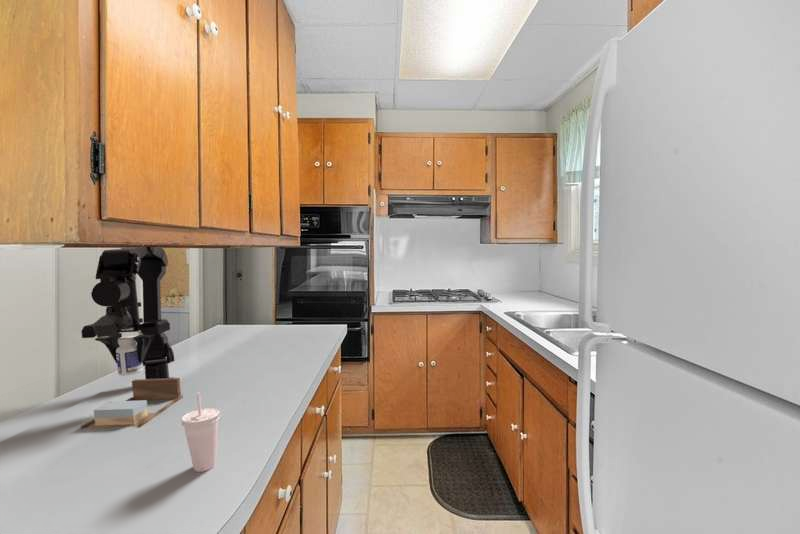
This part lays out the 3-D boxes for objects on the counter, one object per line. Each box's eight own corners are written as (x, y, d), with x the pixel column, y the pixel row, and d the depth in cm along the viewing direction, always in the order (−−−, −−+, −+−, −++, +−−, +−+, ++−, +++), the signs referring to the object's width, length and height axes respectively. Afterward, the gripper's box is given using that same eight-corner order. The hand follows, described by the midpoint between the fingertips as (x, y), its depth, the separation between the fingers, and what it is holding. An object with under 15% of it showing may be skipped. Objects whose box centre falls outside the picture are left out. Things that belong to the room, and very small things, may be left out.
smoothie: (181, 478, 74) (174, 400, 73) (189, 460, 80) (183, 388, 79) (221, 471, 76) (215, 395, 75) (225, 454, 82) (220, 383, 81)
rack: (133, 401, 113) (131, 379, 112) (184, 400, 112) (182, 377, 112) (81, 432, 95) (78, 406, 95) (141, 430, 94) (139, 404, 94)
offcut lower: (111, 416, 101) (110, 408, 101) (148, 415, 101) (147, 407, 101) (95, 425, 96) (94, 417, 96) (134, 424, 96) (133, 416, 96)
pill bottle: (147, 368, 109) (144, 334, 108) (136, 375, 103) (132, 339, 103) (126, 370, 108) (122, 335, 108) (113, 376, 103) (109, 340, 102)
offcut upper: (110, 408, 101) (109, 401, 101) (147, 407, 101) (146, 400, 100) (94, 417, 96) (93, 410, 96) (133, 416, 96) (132, 408, 95)
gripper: (59, 307, 97) (67, 375, 98) (141, 304, 96) (147, 371, 98) (95, 300, 108) (101, 360, 109) (168, 296, 107) (173, 357, 109)
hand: (129, 362), depth 106 cm, fingers closed on pill bottle, 5 cm apart
